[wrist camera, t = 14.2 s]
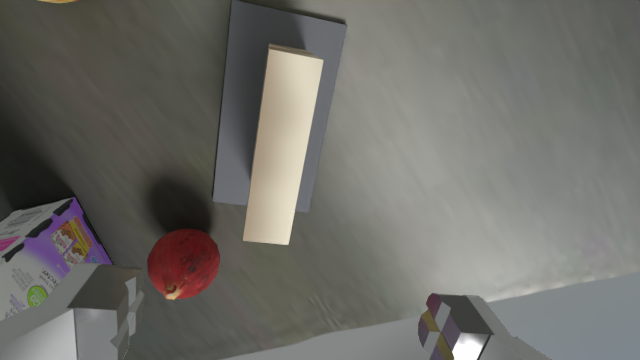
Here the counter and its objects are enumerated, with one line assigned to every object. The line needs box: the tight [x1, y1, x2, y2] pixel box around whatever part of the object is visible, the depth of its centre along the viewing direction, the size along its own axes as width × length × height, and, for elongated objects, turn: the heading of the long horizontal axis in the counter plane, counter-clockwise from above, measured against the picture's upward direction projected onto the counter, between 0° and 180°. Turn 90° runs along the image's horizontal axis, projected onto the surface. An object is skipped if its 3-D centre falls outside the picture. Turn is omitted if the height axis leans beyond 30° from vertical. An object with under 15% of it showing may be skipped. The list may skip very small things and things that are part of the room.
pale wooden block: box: [243, 43, 324, 245], centre depth 26 cm, size 3×12×10 cm, turn 169°
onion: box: [147, 229, 220, 300], centre depth 31 cm, size 6×6×8 cm
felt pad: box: [213, 0, 347, 213], centre depth 31 cm, size 9×17×1 cm, turn 169°
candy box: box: [0, 197, 112, 321], centre depth 26 cm, size 14×6×16 cm, turn 11°
